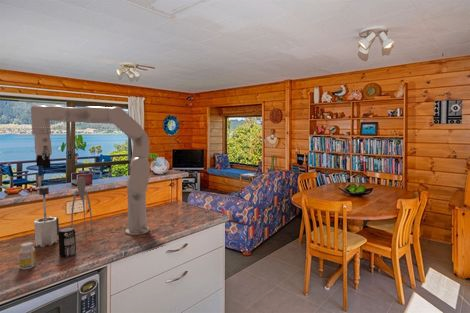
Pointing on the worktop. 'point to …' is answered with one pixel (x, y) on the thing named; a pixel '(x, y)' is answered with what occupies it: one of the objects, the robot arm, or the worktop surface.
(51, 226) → the press carafe
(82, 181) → the juicer
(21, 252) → the supplement bottle
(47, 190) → the grey knobbed rod
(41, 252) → the worktop surface
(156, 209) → the worktop surface
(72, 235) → the beverage can
